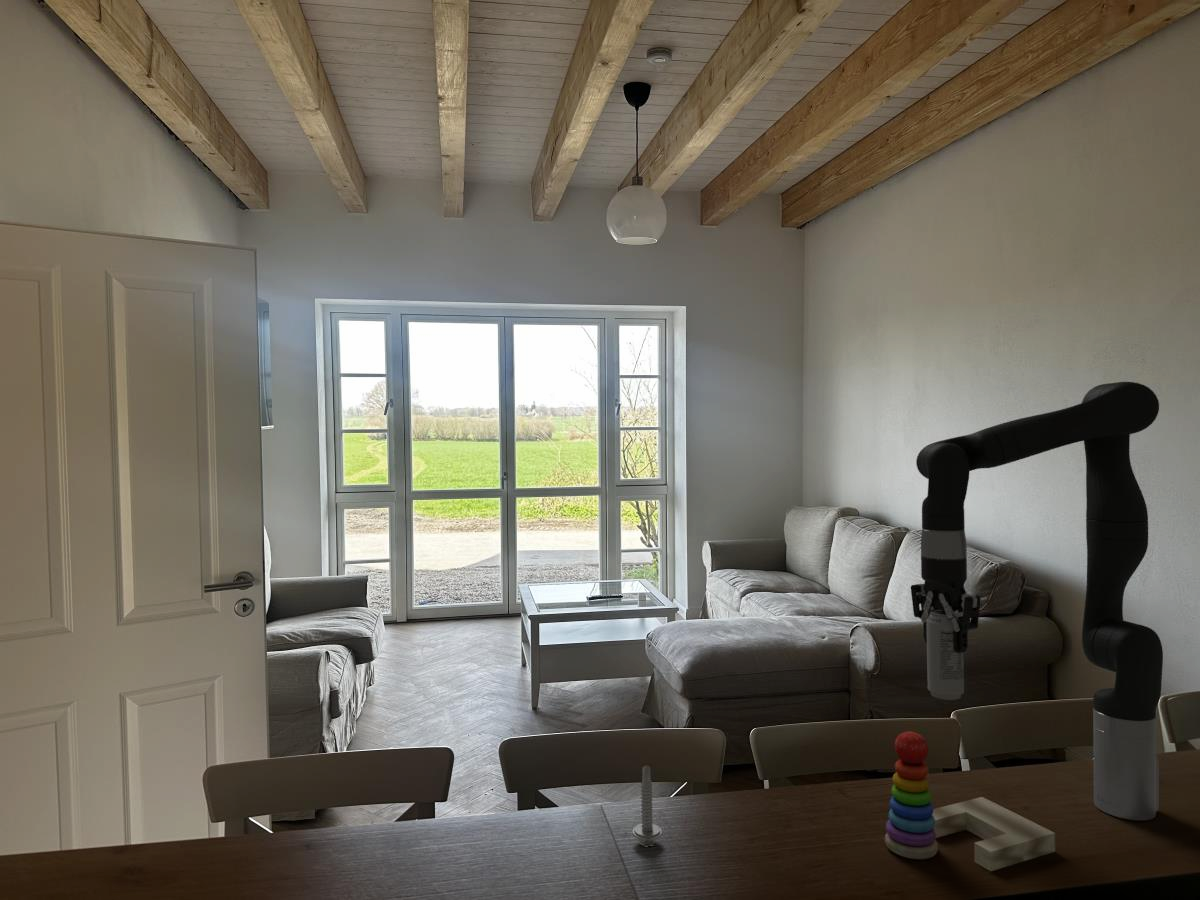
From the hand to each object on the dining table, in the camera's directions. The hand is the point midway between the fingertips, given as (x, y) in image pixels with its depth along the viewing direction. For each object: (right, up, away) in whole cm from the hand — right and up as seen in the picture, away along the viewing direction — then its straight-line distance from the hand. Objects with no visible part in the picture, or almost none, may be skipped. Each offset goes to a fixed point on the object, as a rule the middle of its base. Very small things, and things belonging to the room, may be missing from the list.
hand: (945, 647), depth 142 cm
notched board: (+1, -29, -12) cm, 31 cm away
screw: (-54, -30, -12) cm, 63 cm away
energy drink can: (0, -9, 0) cm, 9 cm away
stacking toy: (-12, -29, -14) cm, 35 cm away
